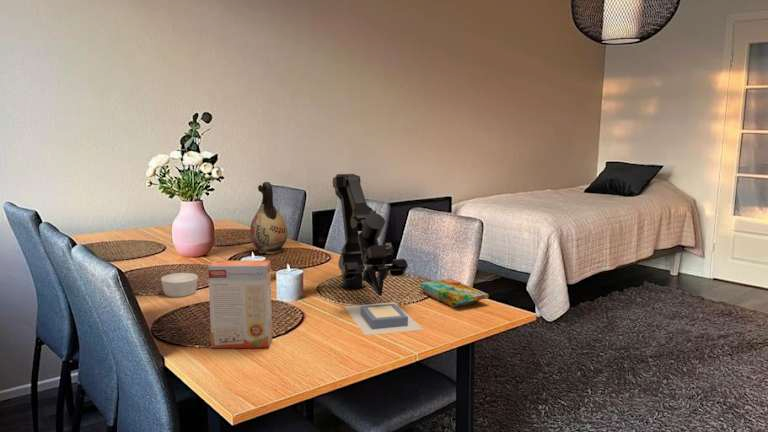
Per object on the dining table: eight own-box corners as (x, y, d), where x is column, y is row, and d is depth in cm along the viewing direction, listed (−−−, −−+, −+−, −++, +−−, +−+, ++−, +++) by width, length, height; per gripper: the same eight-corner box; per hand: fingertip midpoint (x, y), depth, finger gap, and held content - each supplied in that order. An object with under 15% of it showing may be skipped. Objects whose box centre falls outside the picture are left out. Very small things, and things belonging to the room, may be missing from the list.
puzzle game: (449, 275, 192) (488, 291, 175) (448, 289, 193) (487, 306, 176) (420, 280, 186) (457, 296, 169) (419, 294, 187) (457, 312, 170)
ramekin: (186, 299, 177) (186, 283, 177) (154, 297, 180) (153, 280, 179) (205, 289, 188) (204, 273, 187) (174, 287, 190) (173, 271, 190)
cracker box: (272, 339, 146) (271, 259, 143) (268, 349, 140) (267, 265, 137) (216, 339, 146) (214, 259, 142) (210, 349, 140) (207, 265, 136)
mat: (343, 307, 172) (343, 306, 172) (394, 303, 176) (394, 302, 176) (365, 336, 149) (365, 335, 149) (423, 330, 154) (423, 329, 154)
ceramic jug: (246, 249, 245) (244, 179, 240) (282, 246, 252) (281, 178, 247) (255, 258, 230) (253, 183, 225) (293, 255, 237) (292, 182, 232)
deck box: (360, 306, 164) (372, 320, 153) (394, 303, 167) (407, 317, 156) (360, 314, 165) (372, 329, 153) (393, 311, 168) (407, 325, 156)
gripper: (343, 234, 162) (353, 283, 154) (406, 231, 168) (418, 278, 159) (337, 255, 171) (346, 302, 162) (397, 252, 177) (408, 297, 168)
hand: (380, 295), depth 163 cm, fingers closed
